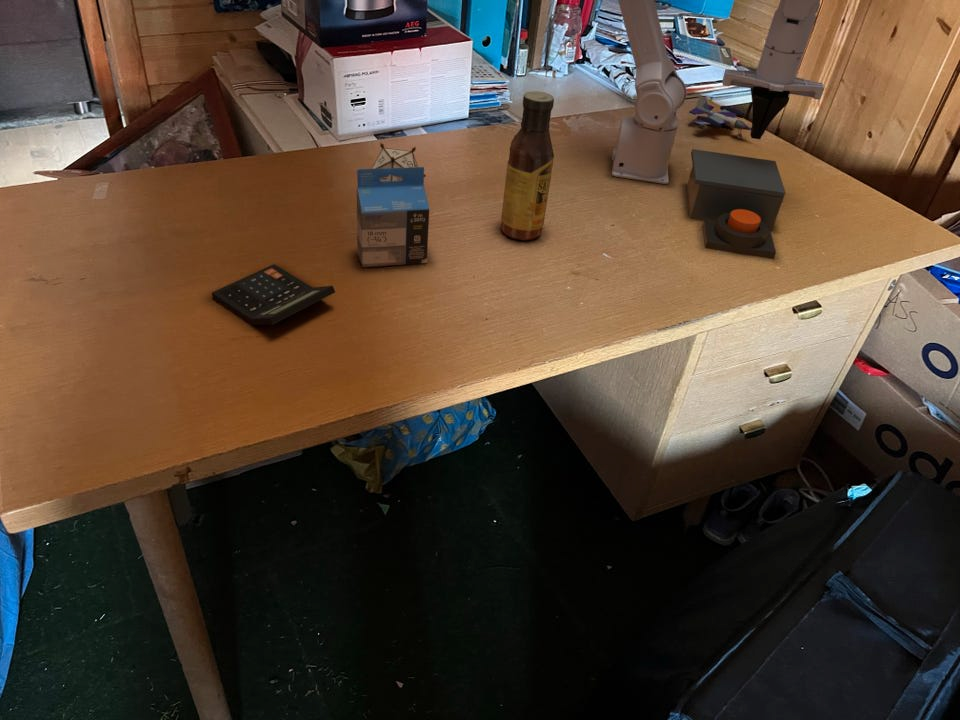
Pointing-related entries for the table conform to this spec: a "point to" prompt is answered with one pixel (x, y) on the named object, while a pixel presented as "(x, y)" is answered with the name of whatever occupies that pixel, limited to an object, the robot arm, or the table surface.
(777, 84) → the robot arm
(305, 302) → the calculator
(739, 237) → the switch block
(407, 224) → the tape cartridge
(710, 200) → the cooker
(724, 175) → the lid
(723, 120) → the toy airplane
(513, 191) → the sauce bottle
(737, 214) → the button
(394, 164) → the game die
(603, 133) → the table surface
